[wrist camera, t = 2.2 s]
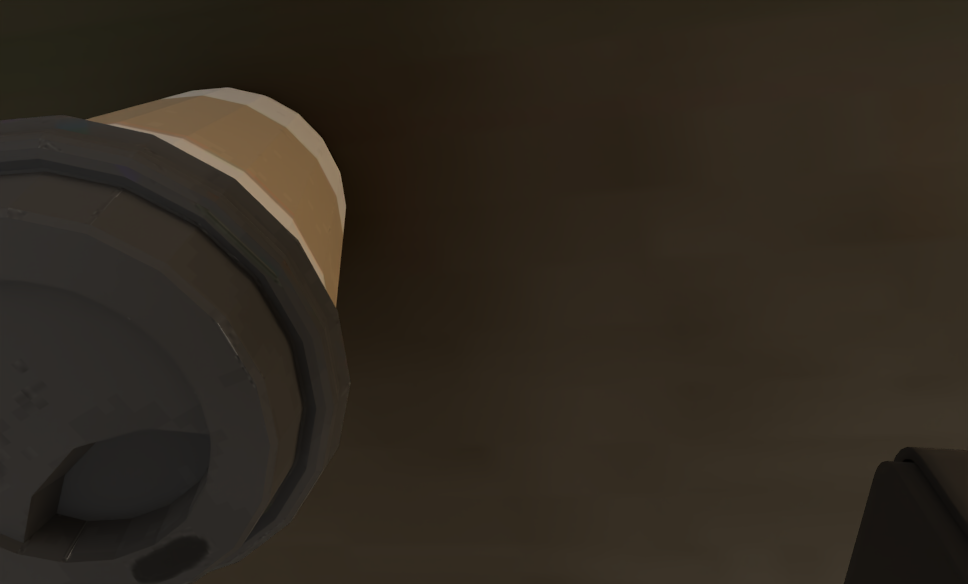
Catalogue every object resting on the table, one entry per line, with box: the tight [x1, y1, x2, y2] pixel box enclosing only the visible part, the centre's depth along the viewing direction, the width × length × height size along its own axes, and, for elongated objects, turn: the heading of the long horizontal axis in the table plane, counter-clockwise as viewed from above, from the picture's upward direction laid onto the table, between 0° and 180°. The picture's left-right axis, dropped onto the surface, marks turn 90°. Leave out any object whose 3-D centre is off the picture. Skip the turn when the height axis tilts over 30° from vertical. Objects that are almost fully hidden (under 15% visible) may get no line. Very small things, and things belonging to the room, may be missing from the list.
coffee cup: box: [0, 87, 351, 584], centre depth 25 cm, size 11×11×15 cm
